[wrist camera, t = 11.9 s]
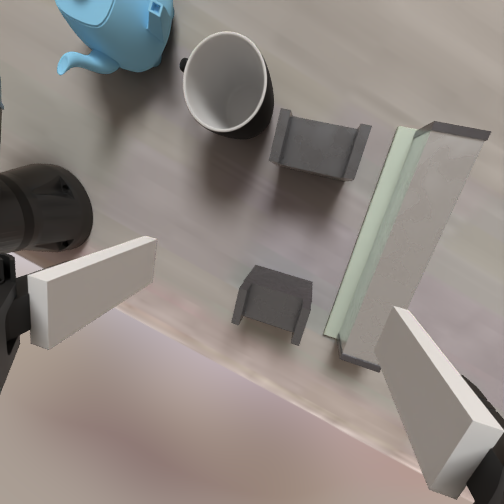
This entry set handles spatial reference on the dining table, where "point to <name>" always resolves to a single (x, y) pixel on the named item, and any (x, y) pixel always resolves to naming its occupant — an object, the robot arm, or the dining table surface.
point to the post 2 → (318, 147)
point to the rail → (408, 233)
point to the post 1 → (275, 301)
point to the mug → (228, 86)
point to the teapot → (117, 33)
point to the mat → (370, 227)
